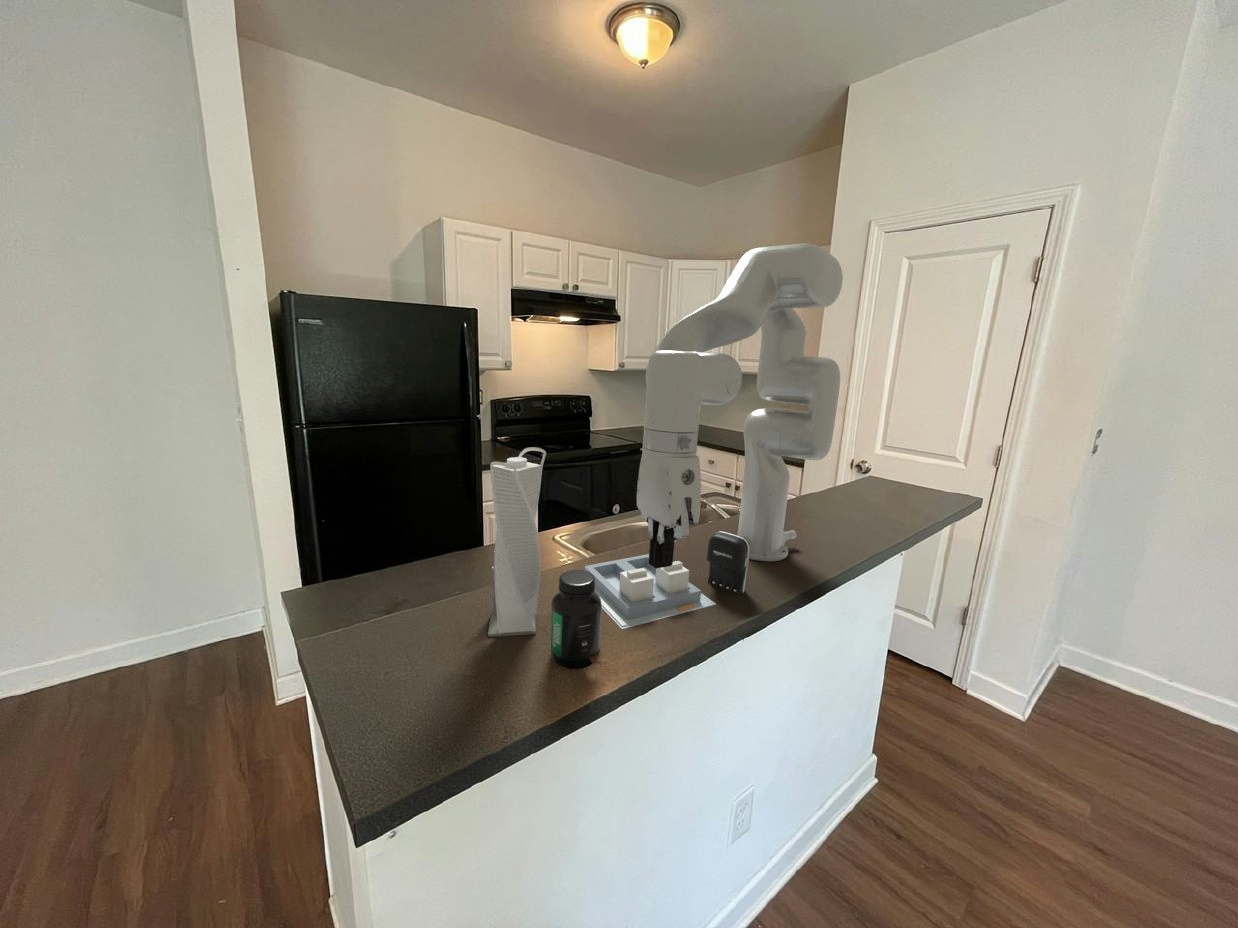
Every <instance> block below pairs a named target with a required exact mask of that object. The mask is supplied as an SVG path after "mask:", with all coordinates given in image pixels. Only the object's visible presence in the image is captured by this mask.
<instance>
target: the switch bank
mask: <svg viewBox="0 0 1238 928" xmlns="http://www.w3.org/2000/svg"><path fill="white" fill-rule="evenodd" d="M583 568H584V569H583V570H584V571H587V572H590V573H592V574H593V575H594V577H595V592H596V593H597V594H598V595H599V597H600V599H601V610H603V611H604V612H605V613H606V614H607V615H608V616H609V617H610V618H611V619H612V620H613V621H614V623H616V625H617V626H618V627H619V628H620V629H621V630H626V629H629V628H632V627H636V626H640V625H643V624H648V623H651V622H655V621H659V620H663V619H666V618H671V617H674V616H677V615H682V614H684V613H685V614H686V613H689V612H692V611H696V610H700V609H704V608H708V607H711V606H715V605H717V603H716V602H714V601H713V600H711V599H710V598H708V597H707V596H706V595H705V594H704V593H702V590H701V589H699V587H696V586H695V585H694V584H692V582H688V590H685V591H680V592H676V593H672V594H667V593H666V592H665V591H663V590H662V589H661V588H660V587H658V586H657V585H656V584H655V579H656V569H655V568H654V567H653V566H651V565H650V564H649V553H647V554H641V555H637V556H631V557H627V558H626V557H625V558H622V559H621V558H620V559H615V560H614V559H613V560H610V561H605V562H600V563H594V564H593V563H592V564H588V565H584V567H583ZM640 568H645V569H646V570H647V573H648V574H649V575H650V576H652V577H653V578H654V585H653V598H651V599H647V600H643V601H639V602H634V603H631V602H629V601H628V600H627V599H626V598H625V597H624V596H623V595H622V594H621V593H620V592H619V589H620V572H625V571H630V570H635V569H640Z"/></svg>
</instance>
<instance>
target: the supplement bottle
mask: <svg viewBox="0 0 1238 928" xmlns="http://www.w3.org/2000/svg"><path fill="white" fill-rule="evenodd" d="M558 580H559V581H558V584H559V585H558V591H557V592H556V593H555V594H554V596H553V598H552V600H551V606H550V607H551V611H550V613H551V615H550V618H551V621H550V625H551V627H550V630H551V631H550V633H551V634H550V654H551V659H552V660H553V661H554V662H555V664H556V665H558V666H560V668H563V669H566V670H567V669H568V670H583V669H585V668H588V667H591V666H592V665H593V662H592V661H591V658H593V657H595V656H596V655H597V654H598V653H599V651H600V648H601V630H602V629H601V626H602V625H601V624H602V607H601V599H600V597H599V595H598V594H597V593H596V592H595V577H594V575H593V574H592V573H590V572H587V571H584V569H573V570H571V569H570V570H567V571H564V572H562V573H561V574H560V575H559V579H558Z"/></svg>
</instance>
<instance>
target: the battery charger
mask: <svg viewBox="0 0 1238 928" xmlns="http://www.w3.org/2000/svg"><path fill="white" fill-rule="evenodd" d="M707 543H708V544H707V551H706V552H707V553H706V562H709V569H708V570H709V571H708V573H709V574H708V578H707V580H708V581H707V584H709V585H710V584H712V585H714V587H721V589H722V590H726V589H727V590H728V592H729V593H733V592H734V593H736V595H741V594H743V593H745V588H746V581H747V577H748V570H749V564H750V563H749V562H750V559H749V553H750V545H749V542H748V540H747V539H745V538H744V537H741V536H738V534H733V533H731V532H727V531H718V532H715V534H713V535H712V536H710V538H709V540H708V542H707Z"/></svg>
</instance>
